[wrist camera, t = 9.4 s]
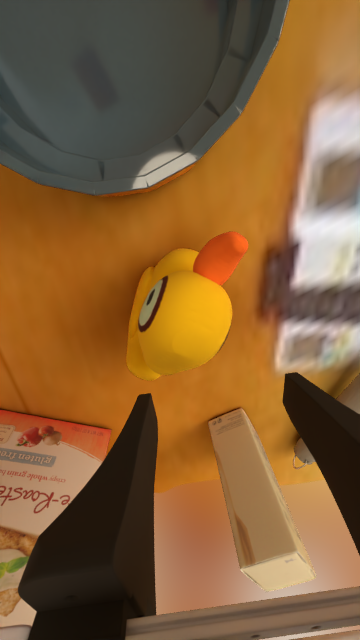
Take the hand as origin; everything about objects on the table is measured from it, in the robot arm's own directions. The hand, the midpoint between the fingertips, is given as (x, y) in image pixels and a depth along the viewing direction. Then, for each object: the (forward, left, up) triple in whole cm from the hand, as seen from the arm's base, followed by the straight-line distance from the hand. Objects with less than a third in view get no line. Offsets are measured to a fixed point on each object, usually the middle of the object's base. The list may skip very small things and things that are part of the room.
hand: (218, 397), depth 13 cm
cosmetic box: (+3, -15, -10) cm, 18 cm away
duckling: (-2, +3, -10) cm, 10 cm away
